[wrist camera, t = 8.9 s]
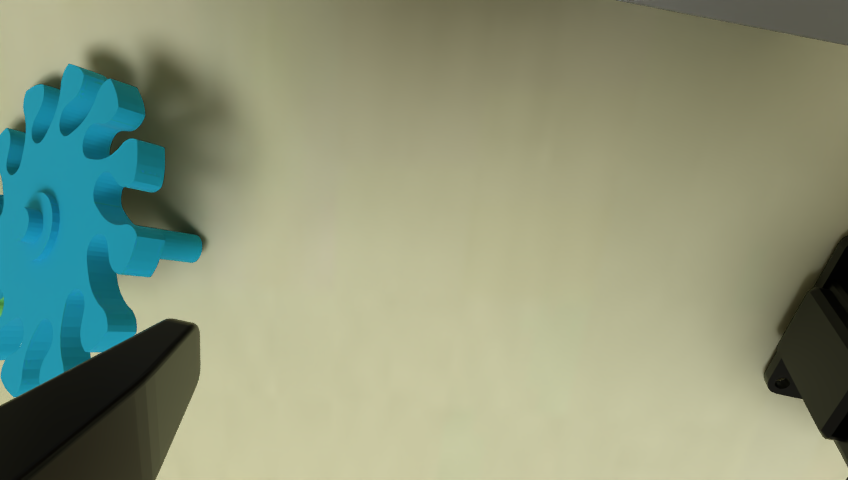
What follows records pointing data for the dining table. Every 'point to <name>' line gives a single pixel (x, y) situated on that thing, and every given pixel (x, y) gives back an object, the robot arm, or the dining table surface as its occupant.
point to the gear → (74, 226)
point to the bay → (770, 15)
